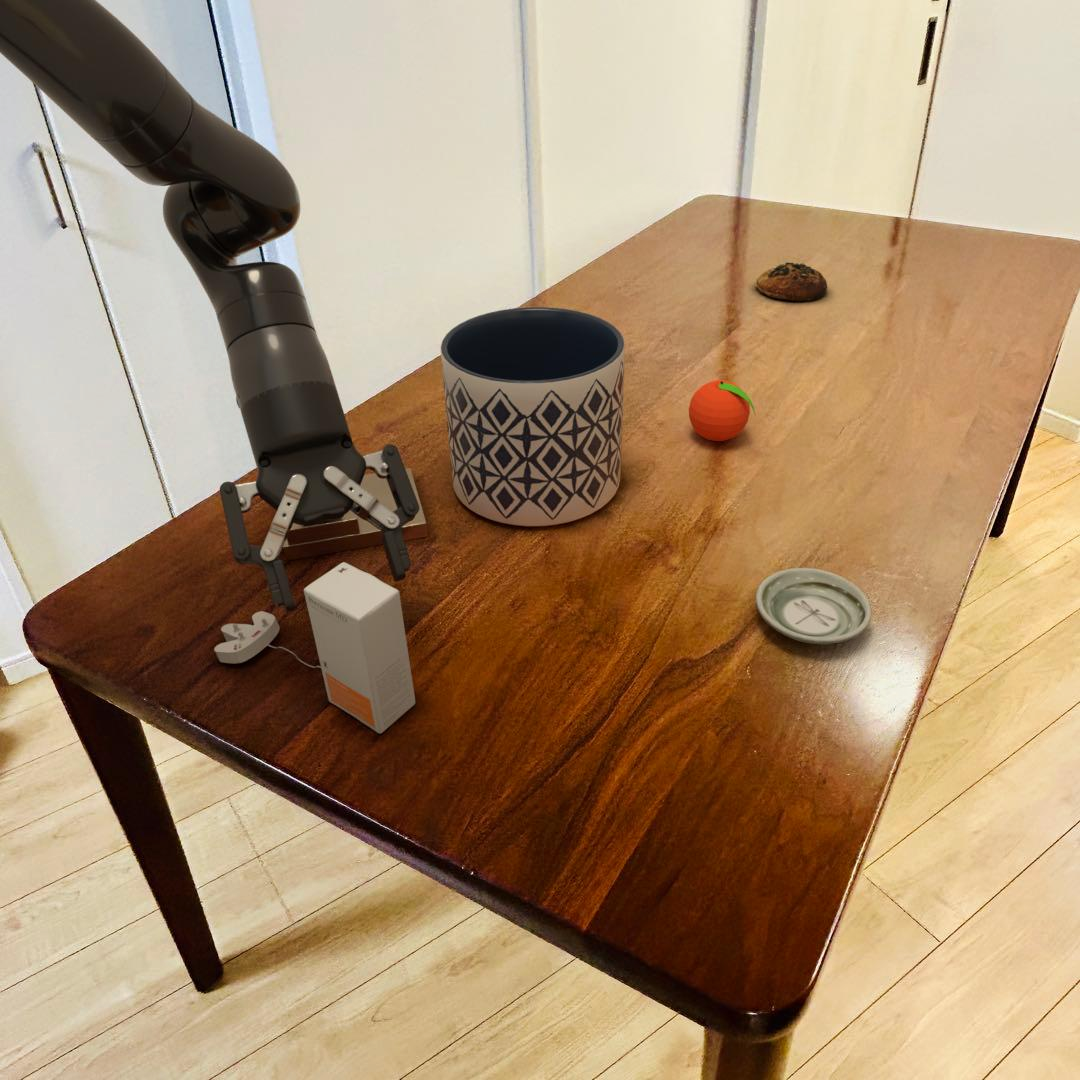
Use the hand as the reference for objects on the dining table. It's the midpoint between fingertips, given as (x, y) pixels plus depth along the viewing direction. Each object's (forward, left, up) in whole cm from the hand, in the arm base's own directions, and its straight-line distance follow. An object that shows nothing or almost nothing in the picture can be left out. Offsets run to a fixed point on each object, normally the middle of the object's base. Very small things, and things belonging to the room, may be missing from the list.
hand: (347, 594), depth 69 cm
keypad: (+1, +24, -9) cm, 26 cm away
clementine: (+44, +28, -9) cm, 53 cm away
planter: (+21, +25, -9) cm, 34 cm away
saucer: (+38, -4, -9) cm, 40 cm away
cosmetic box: (0, -3, -9) cm, 10 cm away
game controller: (-7, +5, -9) cm, 13 cm away
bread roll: (+74, +68, -10) cm, 101 cm away
